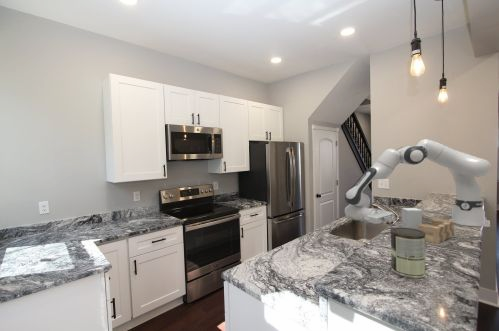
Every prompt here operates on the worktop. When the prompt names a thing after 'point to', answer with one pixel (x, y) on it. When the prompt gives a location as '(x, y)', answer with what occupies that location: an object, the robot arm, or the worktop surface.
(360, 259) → the worktop surface
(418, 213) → the supplement box
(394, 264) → the coffee can
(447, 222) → the oak rack
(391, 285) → the worktop surface
